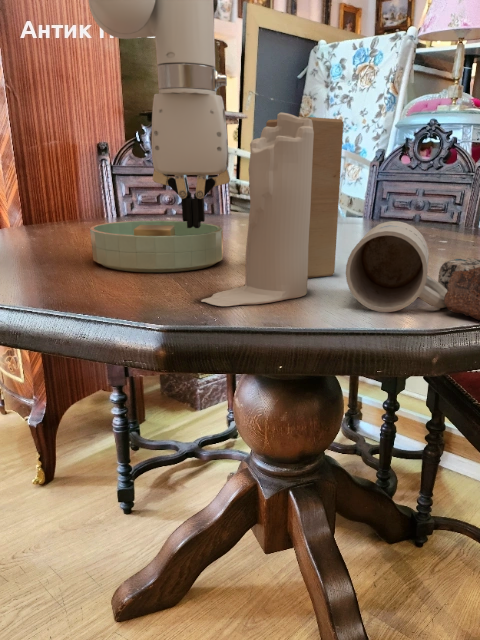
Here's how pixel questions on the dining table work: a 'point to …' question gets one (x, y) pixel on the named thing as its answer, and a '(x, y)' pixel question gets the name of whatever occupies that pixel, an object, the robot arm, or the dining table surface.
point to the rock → (456, 268)
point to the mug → (392, 269)
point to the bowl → (156, 247)
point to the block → (154, 230)
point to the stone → (464, 293)
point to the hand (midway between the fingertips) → (194, 226)
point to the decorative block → (323, 194)
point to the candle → (277, 215)
